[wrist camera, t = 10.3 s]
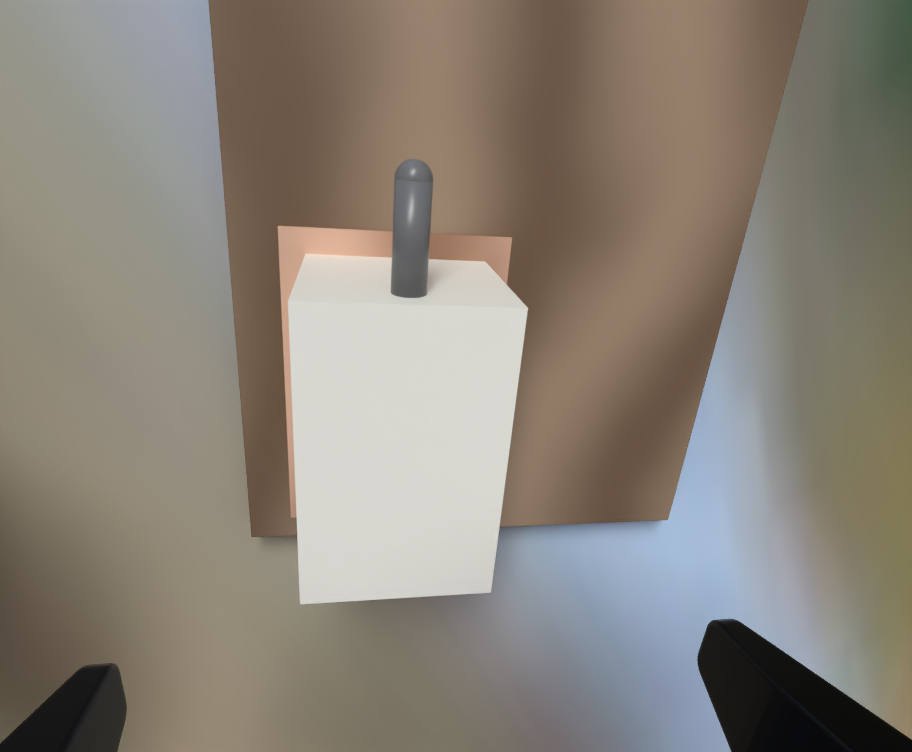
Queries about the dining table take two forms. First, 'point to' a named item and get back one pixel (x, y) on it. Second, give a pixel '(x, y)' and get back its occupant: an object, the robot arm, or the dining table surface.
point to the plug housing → (401, 413)
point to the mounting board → (509, 206)
